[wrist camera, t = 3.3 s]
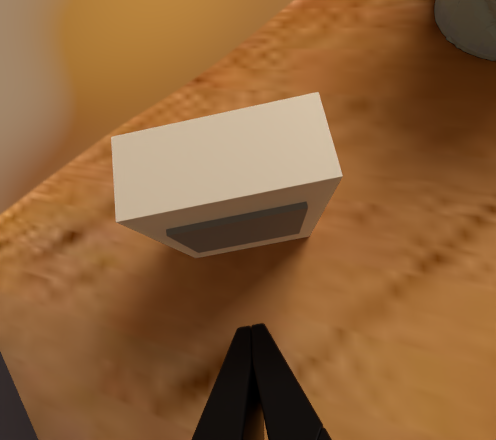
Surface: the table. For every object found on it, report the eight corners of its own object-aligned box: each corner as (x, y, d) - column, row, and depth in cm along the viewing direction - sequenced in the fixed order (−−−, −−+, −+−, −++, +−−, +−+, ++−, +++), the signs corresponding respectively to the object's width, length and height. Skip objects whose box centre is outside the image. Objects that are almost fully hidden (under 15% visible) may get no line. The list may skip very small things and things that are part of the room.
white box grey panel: (310, 240, 17) (345, 183, 8) (196, 262, 17) (116, 229, 9) (298, 190, 18) (318, 92, 9) (189, 211, 18) (111, 136, 10)
